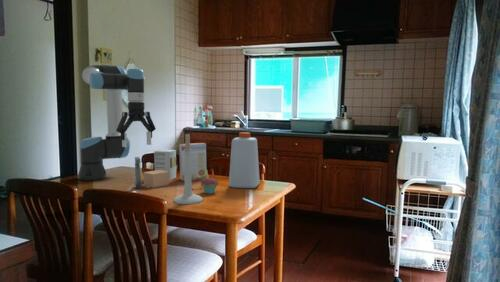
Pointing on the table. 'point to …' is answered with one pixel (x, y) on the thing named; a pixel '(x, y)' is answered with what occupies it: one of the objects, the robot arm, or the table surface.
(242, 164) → the plastic bottle
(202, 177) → the cracker box
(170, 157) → the supplement box
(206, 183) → the cupcake
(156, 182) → the tan rectangular block
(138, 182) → the t key
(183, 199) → the candlestick
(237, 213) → the table surface
